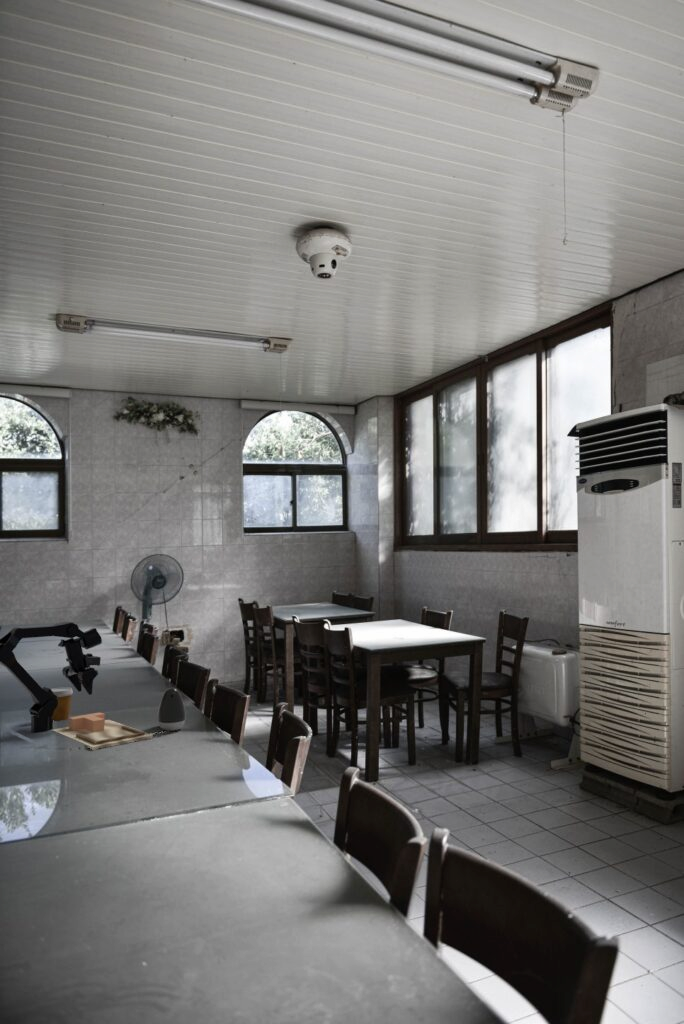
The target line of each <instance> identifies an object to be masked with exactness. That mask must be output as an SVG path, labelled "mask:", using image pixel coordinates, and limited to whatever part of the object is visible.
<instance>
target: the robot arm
mask: <svg viewBox="0 0 684 1024" xmlns="http://www.w3.org/2000/svg"><path fill="white" fill-rule="evenodd" d="M44 637H57V638H58V637H59V638H66V639H60V642H59V643H58V644H57V647H60V648H64V649H65V653H66V657H67V658H65V661H66V662H67V663H68V664H69V665H67V666H65V667H63V668H62V671H61V673H62V676H64V677H65V678H66V679H67V680H68V681H69V682H70V683H71V684H72V686H73V687H74V688H75V689H76V690H77V692H78V693H79V692H82V691H83V690H82V687H83V689H84V690H85V691H86V693H87V694H88V695H89V696H90V695H93V687H94V686H93V685H94V680H95V679H96V677H97V676H98V675H99V672H98V668H95V667H91V666H101V658H102V657H101V656H96V655H93V653H90V652H88V653H86V654H85V653H84V651H83V649H85V650H89V649H92V648H95V647H98V646H100V645H101V644H103V643H102V642H103V640H102V639H103V638H102V636H101V634H100V633H99V631H98V630H97V628H96V627H92V628H90V629H88V630H86V631H83V630H81V629H80V627H79V625H78V624H77V623H75V622H71V621H61V622H59V623H55V624H52V625H43V626H42V625H41V626H29V627H28V626H26V627H25V626H24V627H18V626H16V627H15V626H14V627H13V628H12V629H10V630H9V632H8V633H6V634H5V635H3V636H2V637H1V638H0V665H1V666H3V667H4V668H5V669H6V670H7V671H8V672H9V674H11V675H12V676H13V677H14V679H16V680H17V681H18V682H19V683H20V685H22V687H23V688H24V689H25V690H26V691H27V692H28V693H29V695H30V696H31V700H32V701H33V703H34V704H33V705H32V706H31V707H30V708H29V709H28V711H29V714H30V731H31V732H32V733H33V734H34V733H35V734H36V733H44V732H49V731H53V729H54V722H53V719H52V715H53V713H54V710H55V709H56V708H57V705H58V700H57V698H56V697H57V696H56V695H55V694H54V693H53V692H52V690H51V689H52V688H50V687H49V688H48V687H46V686H44V687H41V685H39V683H38V682H37V681H36V680H35V678H33V677H32V676H31V674H30V673H29V672H28V671H27V670H26V669H25V668H24V667H23V666H22V665H21V664H20V662H18V660H17V658H16V655H15V653H14V652H13V651H14V650H15V649H16V648H17V646H18V644H19V643H20V641H21V640H22V639H31V638H33V639H34V638H44Z"/></svg>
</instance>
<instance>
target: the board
mask: <svg viewBox="0 0 684 1024" xmlns="http://www.w3.org/2000/svg"><path fill="white" fill-rule="evenodd" d="M52 731H54V732H56V733H58V734H61V735H63V736H65V737H67V738H70V739H71V740H74V741H77V742H79V743H81V744H84V746H85V747H84V748H86V747H87V748H86V749H88V748H90V749H89V750H91V749H92V750H91V751H94V750H93V749H96V750H100V749H99V748H101V749H106V748H110V746H111V747H114V746H115V745H116V746H120V744H121V745H125V743H126V744H130V742H131V743H135V741H136V742H139V741H144V740H149V739H153V738H154V736H153V734H151V733H149V732H145V731H142V730H139V729H137V728H133V727H130V726H127V725H125V724H122V723H119V722H116V721H113V720H111V719H105V725H104V731H98V732H91V731H89V730H86V729H79V730H74V731H73V730H71V729H69V726H65V727H60V728H55V729H54V728H53V729H52ZM116 746H115V747H116ZM105 747H106V748H105Z"/></svg>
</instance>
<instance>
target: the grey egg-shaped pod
mask: <svg viewBox="0 0 684 1024" xmlns="http://www.w3.org/2000/svg"><path fill="white" fill-rule="evenodd" d="M186 719H187V714H186V707H185V703H184V700H183V698H182V694H181V693H180V691H179V690H178V688H175V687H169V688H167V689H166V690H165V691H164V693H163V695H162V696H161V700H160V703H159V707H158V712H157V723H158V725H159V727H160V728H161V729H163V730H164V731H166V732H176V731H179V730H180V729H181V728H182V727H184V725H185V722H186ZM175 730H176V731H175Z"/></svg>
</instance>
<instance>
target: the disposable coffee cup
mask: <svg viewBox="0 0 684 1024" xmlns="http://www.w3.org/2000/svg"><path fill="white" fill-rule="evenodd" d="M50 689H51V690H52V692H53V693H54V694H55V695H56V696H57V697H56V698H57V700H58V705H57V708H56V709H55V710H54V713H53V715H52V719H53V720H54V721H57V722H60V721H61V720H62V721H67V720H66V719H68V718H70V711H71V704H72V695H73V694H74V691H73V688H72V687H69V686H68V687H65V686H63V687H55V688H50ZM68 720H69V719H68Z"/></svg>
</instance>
